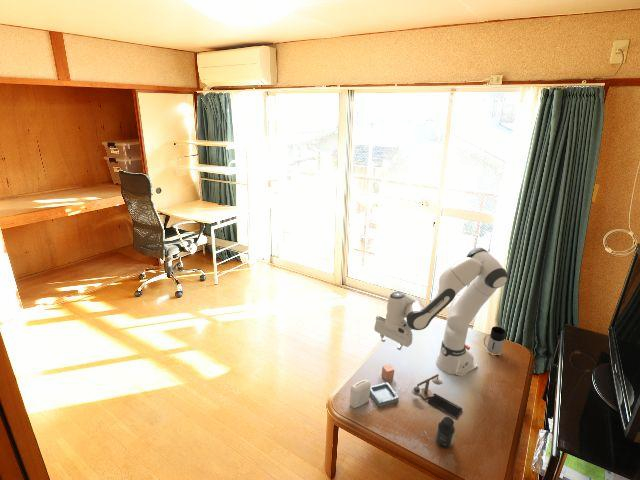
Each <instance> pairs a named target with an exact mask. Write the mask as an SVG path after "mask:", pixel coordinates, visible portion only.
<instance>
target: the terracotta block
mask: <svg viewBox="0 0 640 480" xmlns="http://www.w3.org/2000/svg"><path fill="white" fill-rule="evenodd" d="M394 375H395V368H394V367H392V365H391V364H386V365H382V367H381V377H382V378H383V379H384V381H385V382H388V381H390V380H394Z"/></svg>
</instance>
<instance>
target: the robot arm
mask: <svg viewBox="0 0 640 480" xmlns="http://www.w3.org/2000/svg"><path fill="white" fill-rule="evenodd" d="M508 274H509V273H508V272H507V270H506V269H505V268H504V267H503V266H502V265H501V264H500V262H499V261H498V260H497V259H496V258H495V257H493V255H491V254H490V253H489V251H487V250H486V249H485V248H482V247H476V248H474V249H471V250H470V251H469V252H468V254H467V255H466V257H465V258H463V259H461V260H459V261H457V262H456V263H454V264H453V265H451V266H450V267H448V268H447V269H446V270H445V271H444V272H443V273H442V274H441V275H440V277H439V282H438V290H437V294H436V295H435V297H434V298H433V299H432V300H430V302H428V303H427V304H426V305H425V306H424V304H423V302H422V300H421V299H420V298H418V297H412V296H409V295H407V294H406V293H405V292H404V291H394V292H392V293H391V294H389V297H388V300H387V304H386V314H385V317H384V316H382V315H376V318H375V324H374V328H373V329H374V332H375V333H378V334H379V335H380V339H381V340H380V341H381V342H383V343H385V342H386V338H388V339H390V340H391V341H394V342H396V343H398V346H397V348H396V350H398V351H401V350H402V348H403V347H406V348H409V347H411V345H412V344H413V331H412V330H414V331H422V330H424V329H426V328H428V326H429V325H430V323H431V322H432V320H433V319H434V318H436V317H437V315H439V314H440V313H441V312H442V311H443V310H444V309H445V308H447V306H449V308H448V309H449V310H448V311H447V314H446V315H447V316H446V324H445V329H444V335H443V340H442V341H441V345H440V346H441V347H440V350H439V352H438V353H437V358H436V361H435V362H436V365H437V367H438V368H439V369H440V370H441V371H442V372H445V373H447V374H452V375H455V374H456V376H457V375H458V377H462V376H464V375H466V374H468V373H470V372H471V370H472V371H474V370H475V369H474V368H476V367H477V368H478V364H477V362H476V361H475V360H474V358H475V357H474V355H473V354H472V353H471V352H470V350H471V347H470V346H469V345H468V344H467V345H466V341H467V340H466V339H467V335H468V331H469V325H470V324H471V322H472V321H473V320H474V319H475V317H476V315H477V314H478V313H479V311H480V310H481V308H482V307H483V306H484V304H485V303H487V301H489V299H490V298H491V297H492V295H494V294H495V292H496V291H497V290H498V289H500V288H502V287H503V286H504V285H505V284H506V283H507V282H508V279H509V275H508ZM465 287H466V288H465ZM464 288H465V290H464V291H463V292H462V293H461V295H460V296H458V294H459V292H461V291H462V290H463V289H464ZM456 296H457V297H456ZM449 304H450V305H449ZM474 363H475V364H474ZM477 368H476V369H477ZM473 369H474V370H473ZM469 371H470V372H469ZM467 372H468V373H467Z"/></svg>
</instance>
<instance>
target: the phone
mask: <svg viewBox="0 0 640 480" xmlns="http://www.w3.org/2000/svg"><path fill="white" fill-rule="evenodd" d="M433 394H434V397H430V398H429V399H427V404H428V405H430V406H432V407H433V408H435V409H437V410H439V411H440V412H442V413H444V414H446V415H448V417H449V416H450V418H453V419H458V418H459V416H461V414H462V412H463V408H462V407H461V406H458V405H457V404H456V403H454V402H451V401H450V400H448V399H446V398H444V397H443V396H440V394H437V393H433Z"/></svg>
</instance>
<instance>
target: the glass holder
mask: <svg viewBox="0 0 640 480" xmlns="http://www.w3.org/2000/svg"><path fill="white" fill-rule="evenodd" d="M490 330H491V331H490V334H489V333H488V334H486V335H485V336H484V339H483V345H484V346H485V348H487V350H488V351H489V352H491V353H493V354H499V353H502V350H503V346H504V342H505V338H506V333H507V331H506V330H505V328H503V327H500V326H496V325H495V326H492V327H491V329H490ZM487 337H489V338H488V342H487V345H486V339H487Z"/></svg>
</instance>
